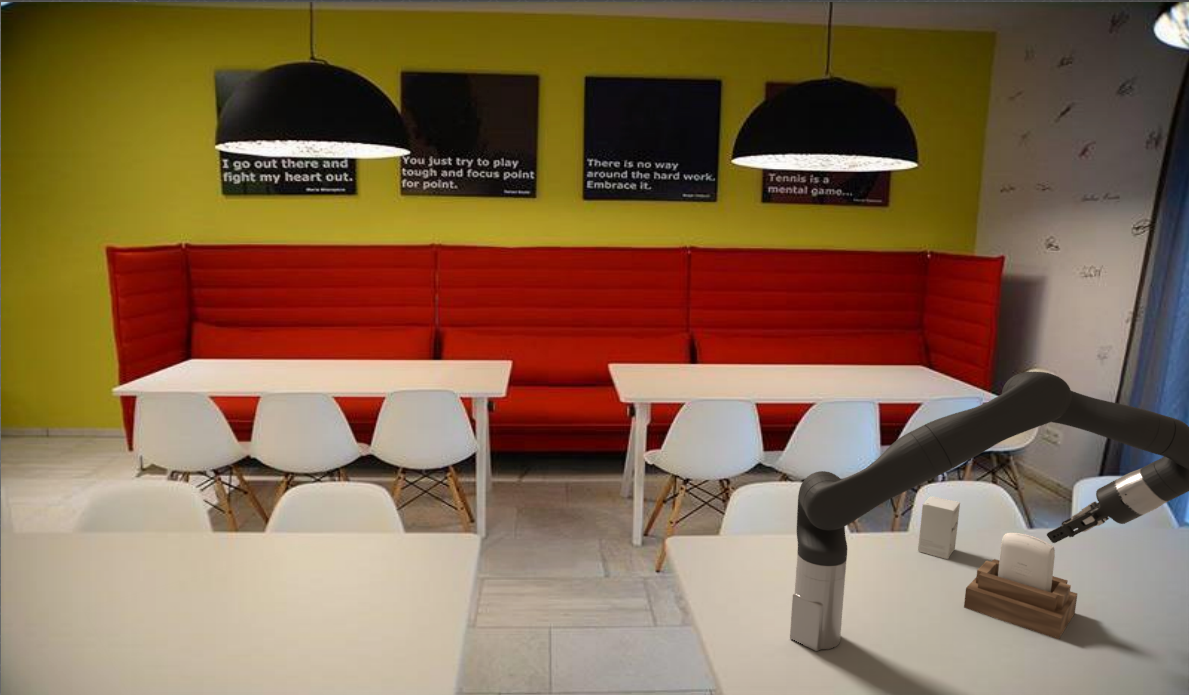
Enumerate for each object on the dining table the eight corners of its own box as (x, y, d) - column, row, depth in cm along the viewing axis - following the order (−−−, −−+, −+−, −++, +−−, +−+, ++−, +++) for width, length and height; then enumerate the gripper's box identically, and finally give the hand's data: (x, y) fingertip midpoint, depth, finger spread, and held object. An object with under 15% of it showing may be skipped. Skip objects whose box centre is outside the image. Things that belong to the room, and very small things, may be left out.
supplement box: (948, 560, 191) (953, 510, 189) (916, 551, 196) (921, 503, 193) (956, 549, 197) (961, 501, 195) (925, 541, 202) (929, 494, 199)
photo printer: (993, 585, 169) (999, 531, 167) (1001, 579, 172) (1007, 526, 170) (1045, 603, 162) (1052, 547, 159) (1053, 597, 165) (1060, 541, 162)
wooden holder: (1058, 641, 157) (1063, 604, 156) (963, 609, 169) (967, 574, 167) (1074, 615, 167) (1079, 580, 166) (984, 586, 179) (987, 553, 178)
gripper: (1128, 471, 156) (1056, 508, 166) (1106, 486, 146) (1032, 525, 157) (1156, 504, 153) (1081, 540, 163) (1135, 522, 144) (1057, 559, 154)
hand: (1057, 532), depth 160 cm, fingers open, 8 cm apart
